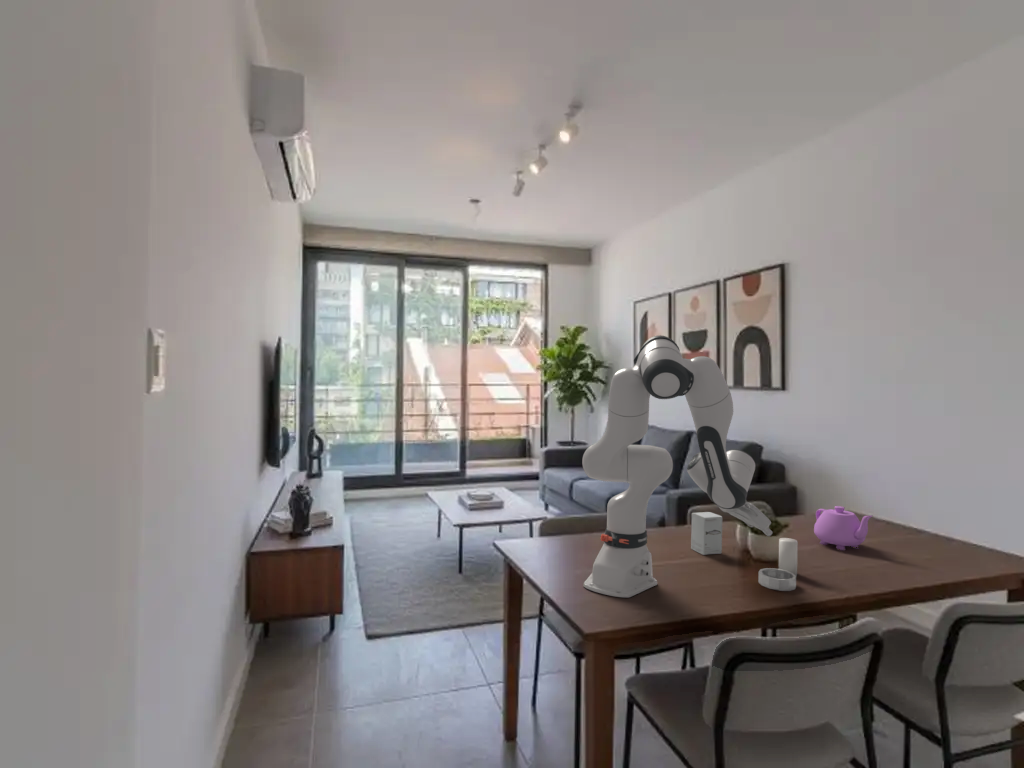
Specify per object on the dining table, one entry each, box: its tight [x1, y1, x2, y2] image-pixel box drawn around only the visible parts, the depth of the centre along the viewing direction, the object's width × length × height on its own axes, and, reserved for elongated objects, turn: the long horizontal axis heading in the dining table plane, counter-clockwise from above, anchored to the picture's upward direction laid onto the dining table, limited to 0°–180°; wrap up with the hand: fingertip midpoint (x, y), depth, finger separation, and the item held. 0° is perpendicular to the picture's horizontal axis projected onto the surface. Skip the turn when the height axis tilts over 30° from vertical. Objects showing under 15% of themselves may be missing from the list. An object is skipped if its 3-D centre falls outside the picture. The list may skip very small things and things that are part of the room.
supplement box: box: [690, 511, 723, 556], centre depth 186 cm, size 7×7×13 cm
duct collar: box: [758, 567, 797, 592], centre depth 156 cm, size 9×9×3 cm
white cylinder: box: [778, 537, 799, 577], centre depth 166 cm, size 5×5×10 cm
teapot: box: [813, 505, 873, 551], centre depth 194 cm, size 22×16×14 cm
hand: (761, 529), depth 164 cm, fingers open, 8 cm apart
